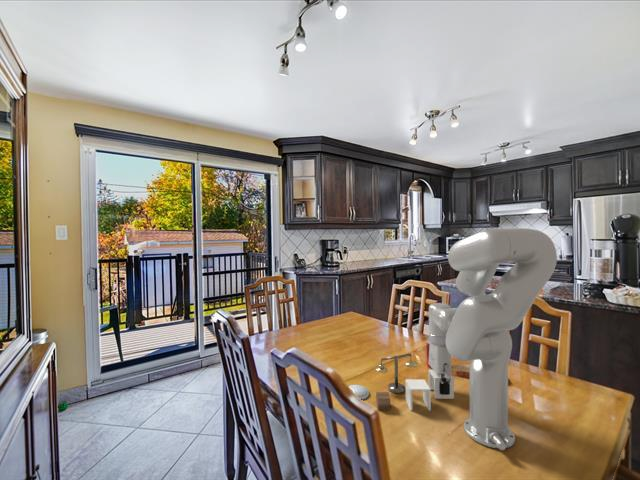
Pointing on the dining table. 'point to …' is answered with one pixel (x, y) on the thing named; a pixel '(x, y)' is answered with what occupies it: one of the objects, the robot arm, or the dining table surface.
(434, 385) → the cover
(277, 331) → the dining table surface
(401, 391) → the balance
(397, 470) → the dining table surface
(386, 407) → the block
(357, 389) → the dish
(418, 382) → the cover
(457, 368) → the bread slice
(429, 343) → the canned food
